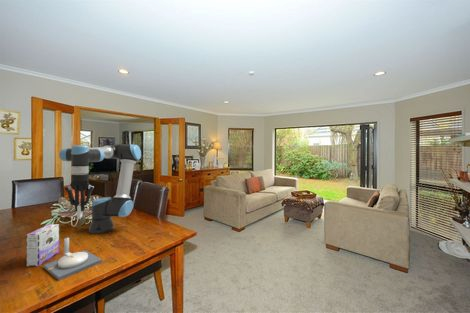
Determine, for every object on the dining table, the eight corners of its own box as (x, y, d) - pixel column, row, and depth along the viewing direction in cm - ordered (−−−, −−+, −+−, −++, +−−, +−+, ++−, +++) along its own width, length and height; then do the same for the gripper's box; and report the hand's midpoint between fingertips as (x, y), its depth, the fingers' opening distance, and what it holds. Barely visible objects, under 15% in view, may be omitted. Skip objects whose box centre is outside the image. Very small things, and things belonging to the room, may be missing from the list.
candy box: (48, 252, 115) (48, 223, 115) (59, 252, 116) (59, 223, 115) (25, 266, 102) (25, 233, 101) (38, 266, 102) (38, 233, 102)
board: (41, 267, 101) (41, 264, 101) (84, 252, 117) (84, 249, 117) (57, 281, 91) (57, 277, 91) (101, 262, 107) (101, 258, 107)
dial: (51, 261, 104) (51, 242, 103) (78, 251, 114) (79, 234, 114) (64, 271, 96) (64, 250, 96) (92, 259, 106) (92, 240, 106)
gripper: (62, 174, 105) (61, 220, 105) (92, 174, 109) (91, 218, 110) (68, 173, 112) (68, 216, 112) (96, 173, 116) (95, 214, 117)
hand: (79, 217), depth 111 cm, fingers closed
